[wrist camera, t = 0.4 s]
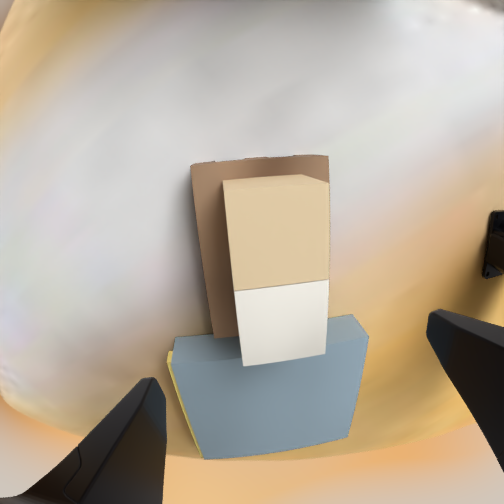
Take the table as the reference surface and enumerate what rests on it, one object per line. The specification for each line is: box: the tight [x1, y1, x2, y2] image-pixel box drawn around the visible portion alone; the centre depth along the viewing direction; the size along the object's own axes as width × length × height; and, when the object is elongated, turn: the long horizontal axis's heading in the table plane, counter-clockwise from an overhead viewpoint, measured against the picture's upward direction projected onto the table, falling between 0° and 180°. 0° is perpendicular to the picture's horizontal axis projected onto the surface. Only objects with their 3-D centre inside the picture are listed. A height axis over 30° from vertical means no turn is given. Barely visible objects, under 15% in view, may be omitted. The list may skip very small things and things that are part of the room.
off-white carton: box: [230, 260, 329, 366], centre depth 15 cm, size 4×4×4 cm
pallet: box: [190, 155, 330, 339], centre depth 17 cm, size 7×10×3 cm
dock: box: [167, 314, 369, 459], centre depth 21 cm, size 13×12×3 cm
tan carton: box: [223, 174, 330, 291], centre depth 13 cm, size 4×4×4 cm
